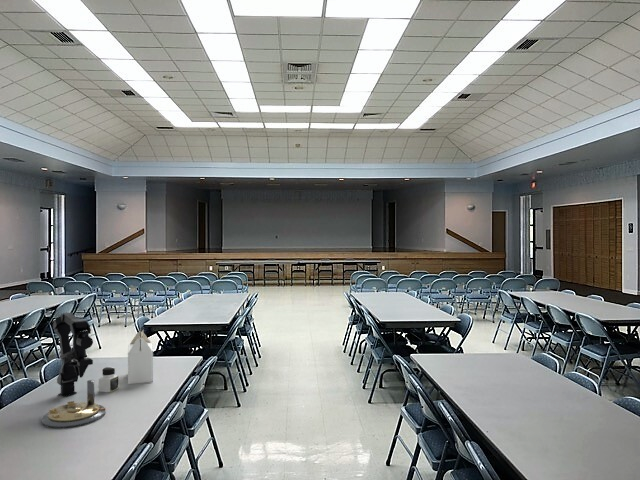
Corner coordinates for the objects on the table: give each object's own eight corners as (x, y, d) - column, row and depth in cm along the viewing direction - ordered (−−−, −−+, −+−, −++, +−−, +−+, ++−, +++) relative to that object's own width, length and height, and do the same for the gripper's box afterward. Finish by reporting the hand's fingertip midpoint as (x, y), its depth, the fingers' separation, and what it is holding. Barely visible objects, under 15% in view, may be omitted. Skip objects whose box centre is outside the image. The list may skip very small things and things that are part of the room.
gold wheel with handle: (70, 425, 209) (70, 396, 208) (37, 417, 217) (37, 389, 217) (109, 409, 228) (109, 382, 228) (77, 402, 236) (77, 377, 236)
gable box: (153, 382, 275) (152, 332, 275) (127, 384, 271) (127, 334, 270) (152, 371, 296) (151, 325, 296) (128, 373, 292) (128, 327, 291)
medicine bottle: (110, 392, 257) (110, 369, 257) (98, 391, 258) (98, 369, 258) (118, 388, 264) (118, 366, 264) (107, 387, 265) (106, 365, 265)
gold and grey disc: (28, 422, 216) (28, 417, 216) (78, 403, 240) (78, 399, 240) (69, 432, 205) (69, 427, 205) (117, 411, 229) (117, 407, 229)
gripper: (55, 344, 242) (55, 376, 242) (68, 351, 229) (69, 384, 229) (78, 341, 250) (79, 371, 250) (93, 347, 237) (93, 379, 237)
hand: (79, 376), depth 241 cm, fingers open, 4 cm apart
